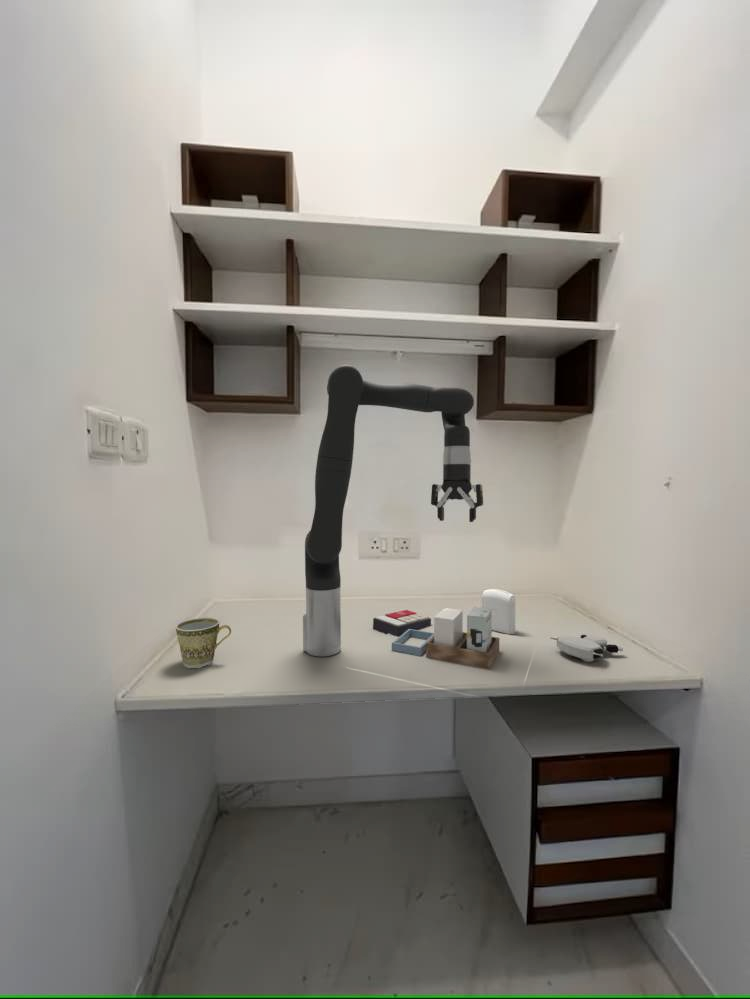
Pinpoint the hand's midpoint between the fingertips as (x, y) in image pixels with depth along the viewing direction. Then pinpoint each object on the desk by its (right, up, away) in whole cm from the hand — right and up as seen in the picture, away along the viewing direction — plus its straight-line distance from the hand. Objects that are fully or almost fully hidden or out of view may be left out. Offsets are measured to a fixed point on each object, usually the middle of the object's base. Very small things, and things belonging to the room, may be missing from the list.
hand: (456, 521), depth 119 cm
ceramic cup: (-65, -35, -13) cm, 75 cm away
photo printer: (+15, -34, +11) cm, 39 cm away
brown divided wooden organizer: (0, -34, -9) cm, 36 cm away
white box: (-3, -34, -7) cm, 35 cm away
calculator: (-14, -34, +13) cm, 39 cm away
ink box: (+4, -34, -11) cm, 36 cm away
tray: (-12, -34, -3) cm, 36 cm away
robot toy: (+32, -35, -8) cm, 48 cm away
